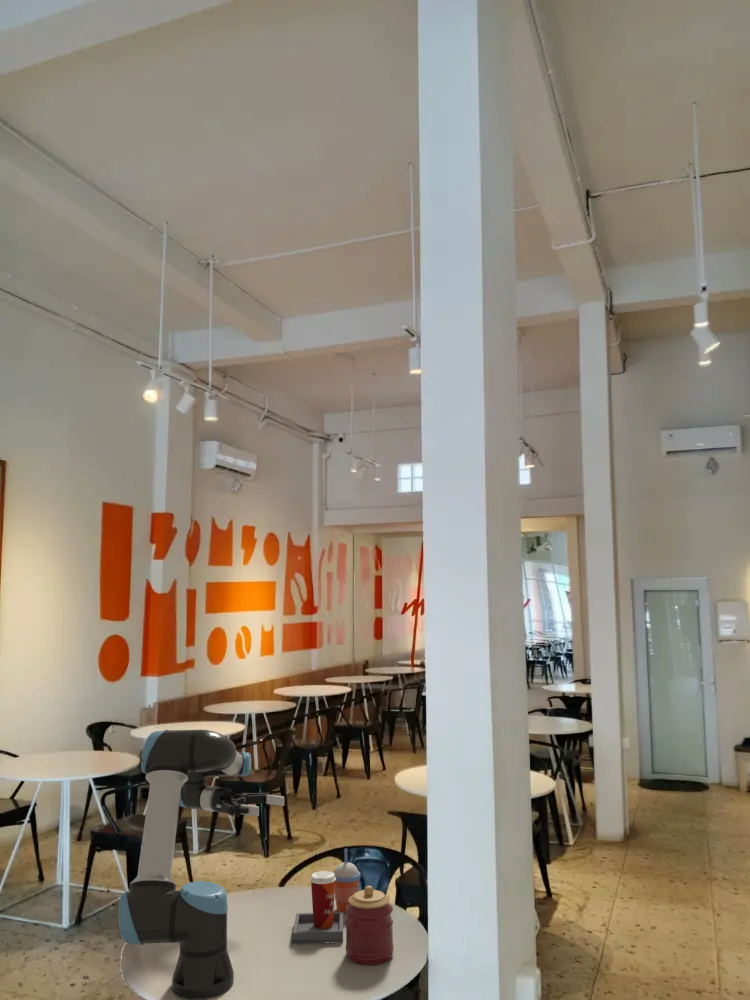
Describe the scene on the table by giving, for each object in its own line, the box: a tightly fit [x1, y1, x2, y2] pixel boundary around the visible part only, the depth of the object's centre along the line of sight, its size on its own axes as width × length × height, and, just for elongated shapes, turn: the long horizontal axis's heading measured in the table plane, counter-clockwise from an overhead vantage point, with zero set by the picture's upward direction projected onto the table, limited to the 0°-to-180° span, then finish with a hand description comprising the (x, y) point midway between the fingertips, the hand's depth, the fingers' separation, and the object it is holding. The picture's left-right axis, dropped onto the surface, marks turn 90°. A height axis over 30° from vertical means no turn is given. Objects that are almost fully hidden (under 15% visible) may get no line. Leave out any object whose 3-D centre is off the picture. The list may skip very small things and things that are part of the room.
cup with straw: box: [333, 847, 362, 914], centre depth 241 cm, size 9×9×18 cm
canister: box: [344, 885, 394, 966], centre depth 209 cm, size 13×13×18 cm
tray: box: [292, 911, 344, 945], centre depth 223 cm, size 14×14×3 cm
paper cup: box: [309, 870, 336, 929], centre depth 227 cm, size 8×8×14 cm
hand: (271, 806), depth 241 cm, fingers open, 13 cm apart
